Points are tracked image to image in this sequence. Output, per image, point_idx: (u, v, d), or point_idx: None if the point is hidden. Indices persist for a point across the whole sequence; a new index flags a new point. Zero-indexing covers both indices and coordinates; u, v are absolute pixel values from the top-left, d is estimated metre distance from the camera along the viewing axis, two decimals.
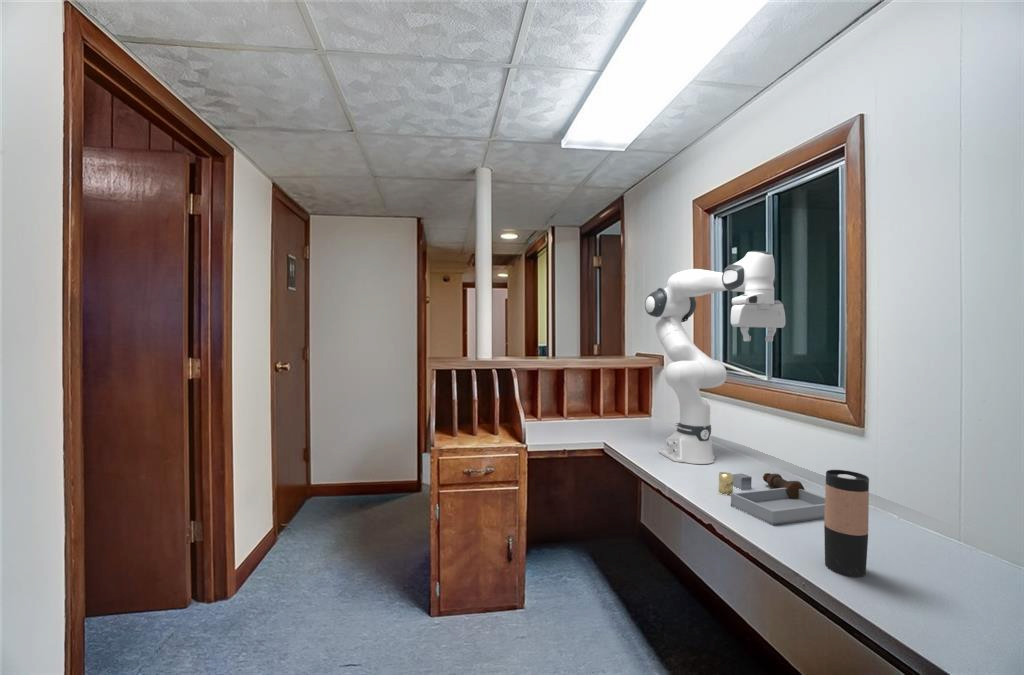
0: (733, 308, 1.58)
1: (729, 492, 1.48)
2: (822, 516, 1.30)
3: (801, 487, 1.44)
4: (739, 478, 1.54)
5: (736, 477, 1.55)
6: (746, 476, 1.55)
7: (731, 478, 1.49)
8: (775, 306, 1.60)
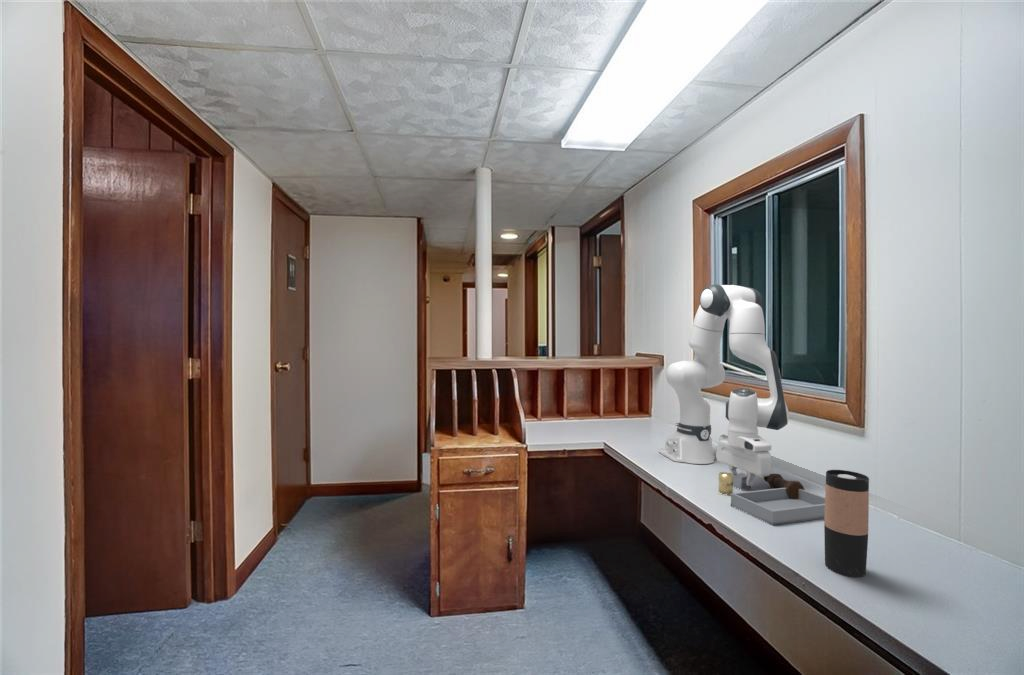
0: (762, 457, 1.47)
1: (729, 492, 1.48)
2: (822, 516, 1.30)
3: (801, 487, 1.44)
4: (739, 478, 1.54)
5: (736, 477, 1.55)
6: (746, 476, 1.55)
7: (731, 478, 1.49)
8: None
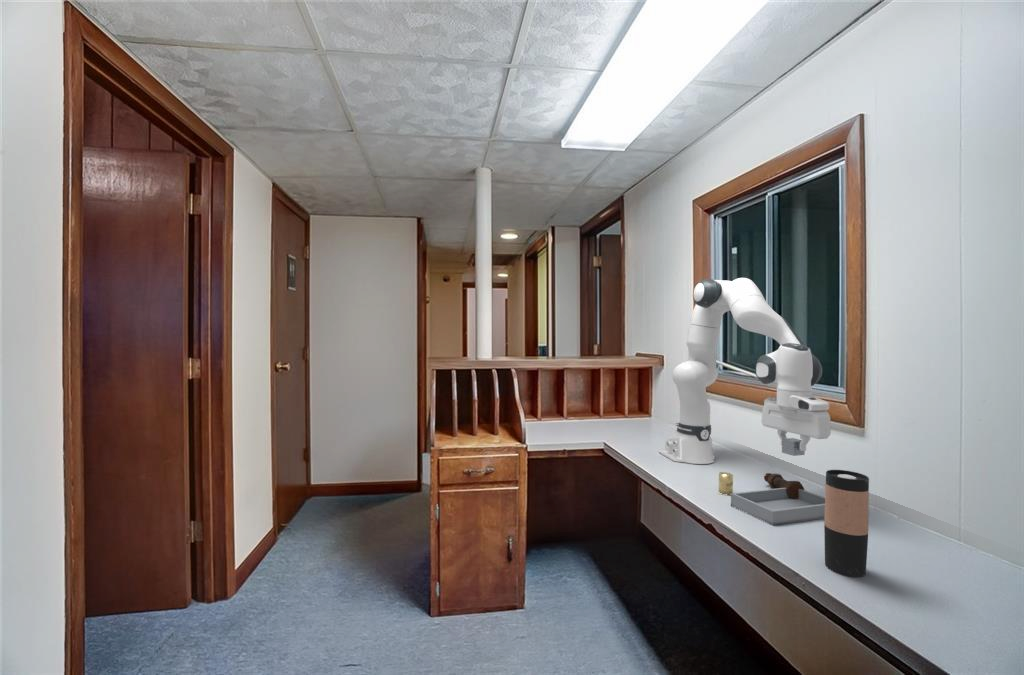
0: (820, 416, 1.30)
1: (729, 492, 1.48)
2: (822, 516, 1.30)
3: (801, 487, 1.44)
4: (791, 442, 1.37)
5: (787, 441, 1.39)
6: (798, 440, 1.38)
7: (731, 478, 1.49)
8: None
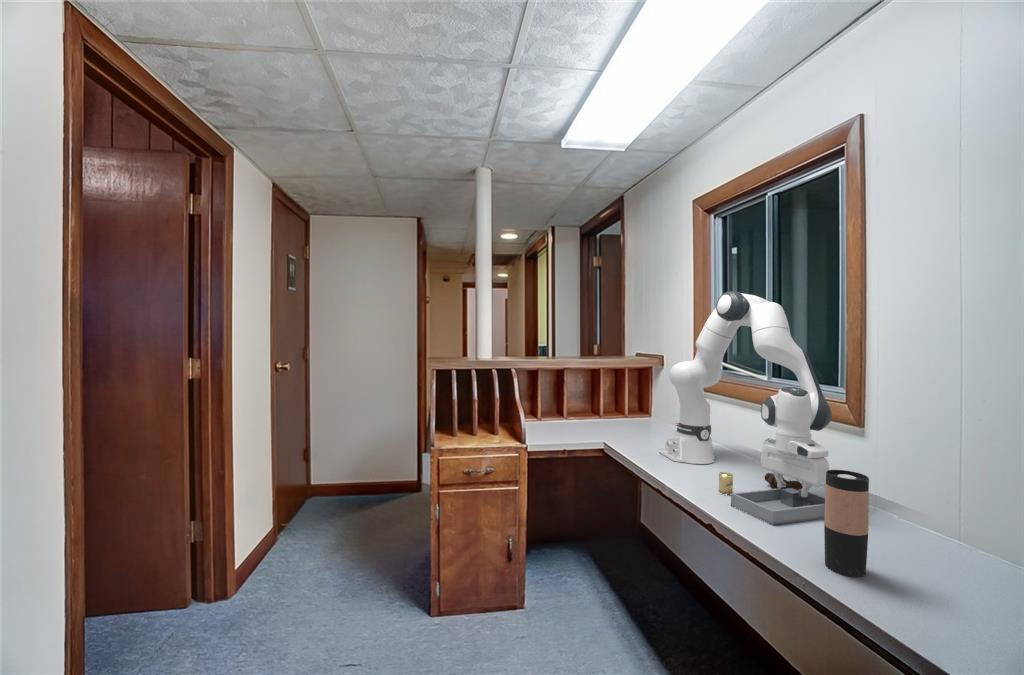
0: (819, 464, 1.30)
1: (729, 492, 1.48)
2: (822, 516, 1.30)
3: (801, 487, 1.44)
4: (790, 494, 1.37)
5: (786, 492, 1.39)
6: (797, 491, 1.38)
7: (731, 478, 1.49)
8: None
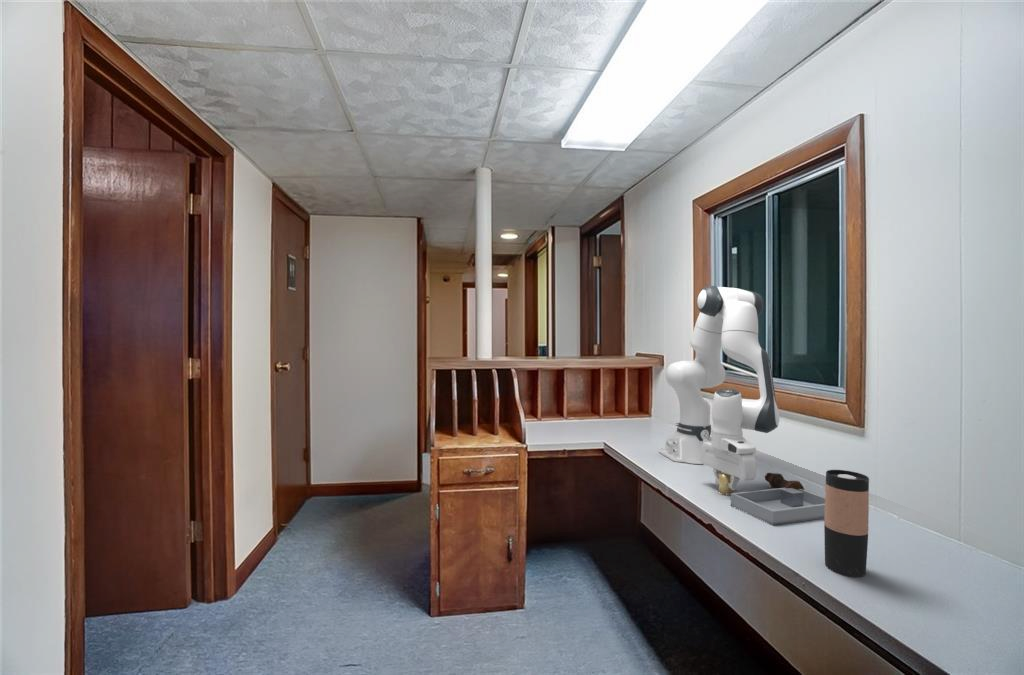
0: (746, 460, 1.41)
1: (729, 492, 1.48)
2: (822, 516, 1.30)
3: (801, 487, 1.44)
4: (790, 494, 1.37)
5: (786, 492, 1.39)
6: (797, 491, 1.38)
7: (731, 478, 1.49)
8: None
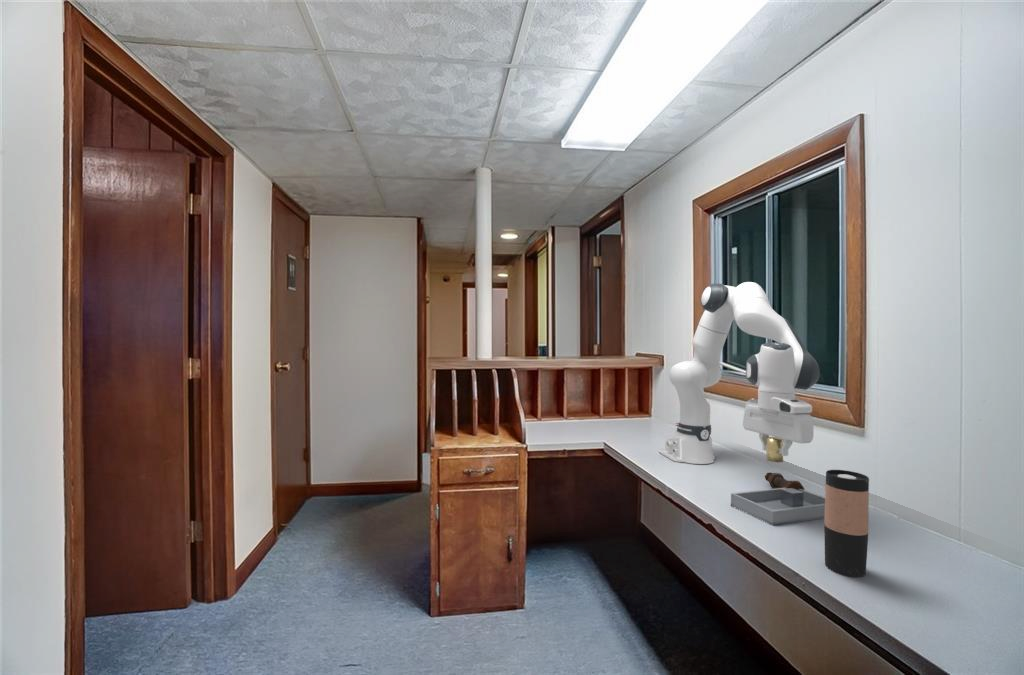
0: (802, 420, 1.22)
1: (779, 459, 1.30)
2: (822, 516, 1.30)
3: (800, 487, 1.44)
4: (790, 494, 1.37)
5: (786, 492, 1.39)
6: (797, 491, 1.38)
7: (782, 443, 1.30)
8: None
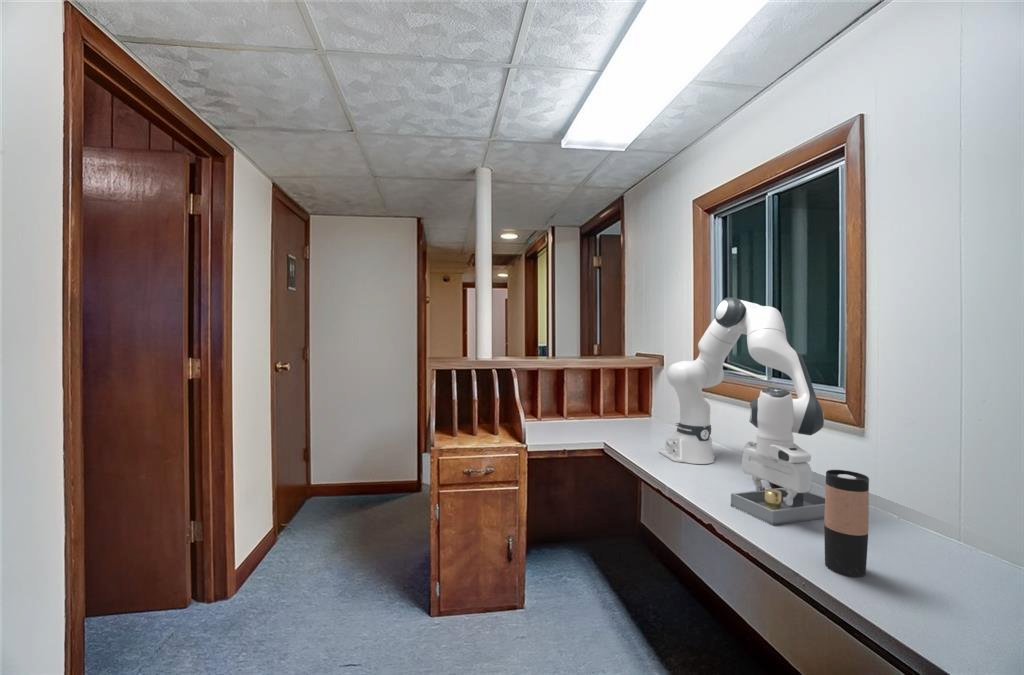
0: (800, 469, 1.23)
1: None
2: (822, 516, 1.30)
3: None
4: None
5: (786, 492, 1.39)
6: None
7: (780, 496, 1.30)
8: None
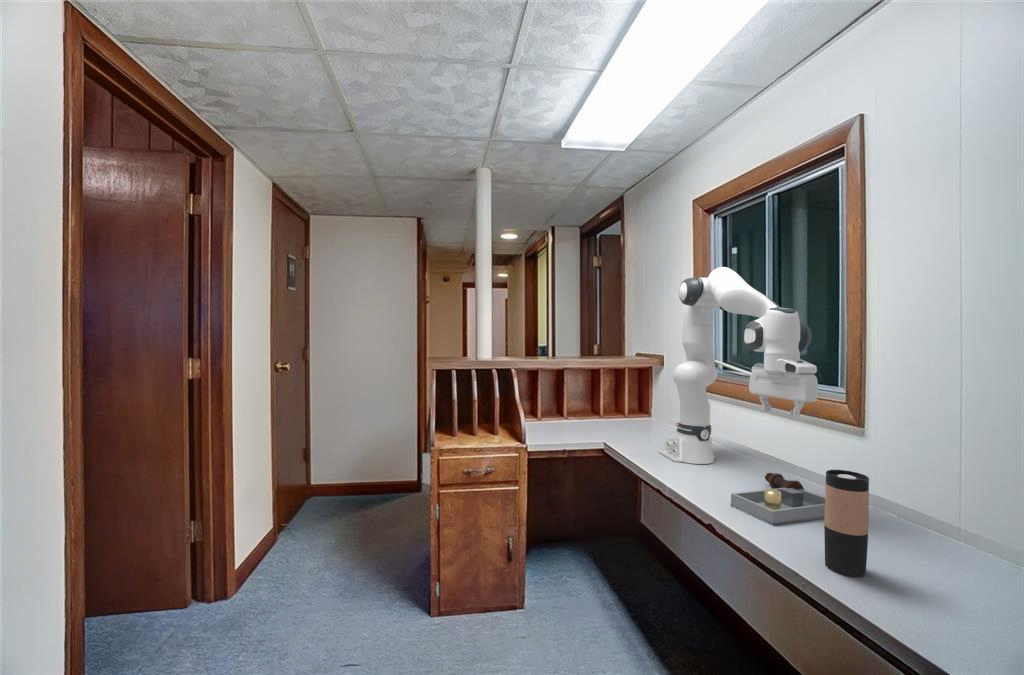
0: (807, 379, 1.27)
1: None
2: (822, 516, 1.30)
3: (800, 487, 1.44)
4: (790, 494, 1.37)
5: (786, 492, 1.39)
6: (797, 491, 1.38)
7: (779, 496, 1.30)
8: None
